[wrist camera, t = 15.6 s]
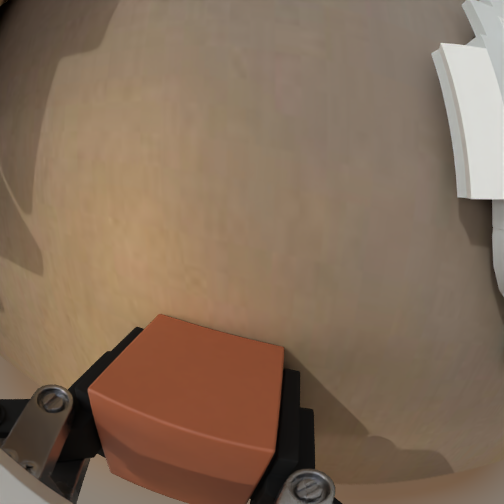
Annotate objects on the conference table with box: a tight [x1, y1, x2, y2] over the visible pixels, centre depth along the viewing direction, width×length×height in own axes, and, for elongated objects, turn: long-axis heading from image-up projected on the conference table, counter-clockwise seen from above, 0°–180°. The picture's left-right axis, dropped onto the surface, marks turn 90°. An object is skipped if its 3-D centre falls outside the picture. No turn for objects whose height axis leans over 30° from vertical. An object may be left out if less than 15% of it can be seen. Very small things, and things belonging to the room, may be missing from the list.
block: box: [88, 314, 284, 504], centre depth 8 cm, size 4×4×4 cm
